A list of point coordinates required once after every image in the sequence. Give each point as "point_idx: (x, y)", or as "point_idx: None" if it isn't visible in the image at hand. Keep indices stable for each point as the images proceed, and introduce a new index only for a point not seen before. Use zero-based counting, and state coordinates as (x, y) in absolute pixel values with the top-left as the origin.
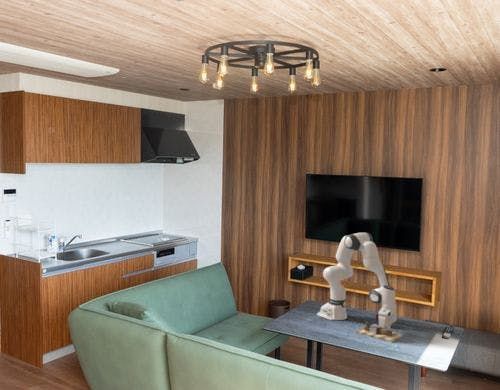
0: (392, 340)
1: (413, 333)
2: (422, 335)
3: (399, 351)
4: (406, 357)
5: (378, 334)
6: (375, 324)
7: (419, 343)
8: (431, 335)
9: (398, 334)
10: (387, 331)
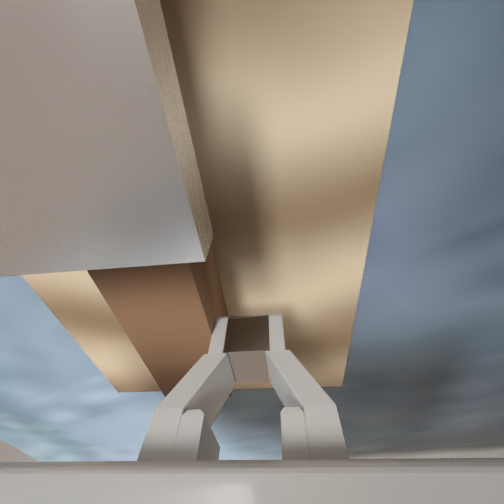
0: (117, 387)
1: (481, 385)
2: (456, 422)
3: (56, 428)
4: (42, 454)
5: None
6: (75, 11)
7: (275, 442)
8: (485, 442)
9: (314, 366)
10: (156, 375)
